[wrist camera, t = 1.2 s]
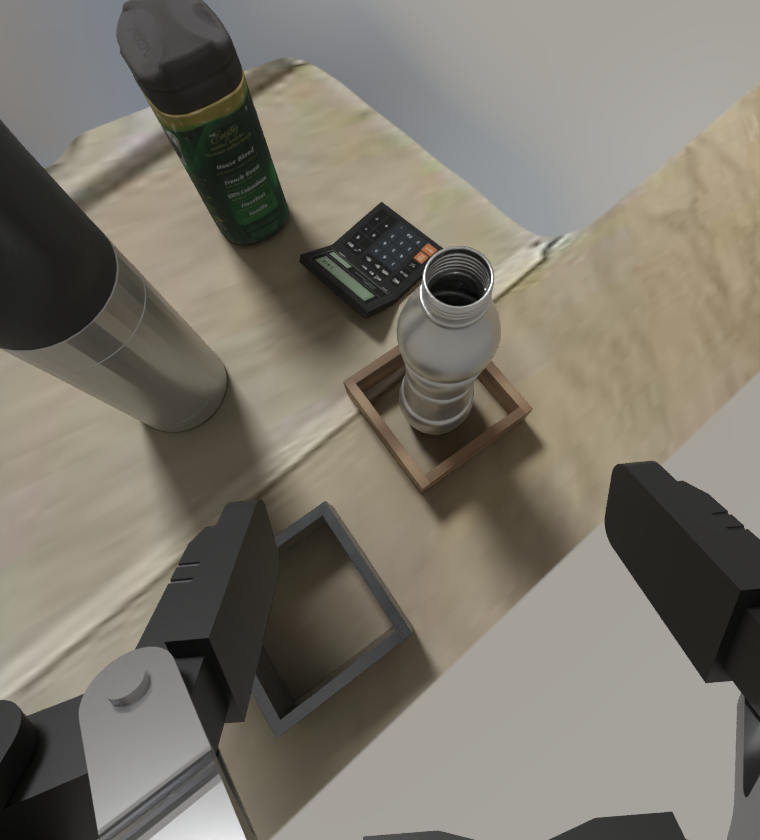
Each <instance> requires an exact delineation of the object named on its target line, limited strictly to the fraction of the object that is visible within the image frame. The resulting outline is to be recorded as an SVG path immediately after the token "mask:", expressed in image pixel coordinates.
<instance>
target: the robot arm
mask: <svg viewBox="0 0 760 840" xmlns="http://www.w3.org/2000/svg"><path fill="white" fill-rule="evenodd" d="M0 349H2V350H4V351H6V352H8V353H10V354H11V355H13V356H15V357H17V358H19V359H21V360H23V361H25V362H27V363H29V364H31V365H33V366H35V367H37V368H39V369H41V370H43V371H45V372H47V373H49V374H51V375H53V376H55V377H56V378H58V379H60V380H62V381H64V382H66V383H68V384H70V385H72V386H74V387H76V388H78V389H80V390H82V391H84V392H85V393H87V394H89V395H91V396H93V397H95V398H97V399H99V400H101V401H103V402H105V403H107V404H109V405H111V406H113V407H114V408H116V409H118V410H120V411H122V412H124V413H126V414H128V415H130V416H132V417H133V418H135V419H137V420H139V421H141V422H143V423H145V424H147V425H149V426H151V427H153V428H155V429H158V430H161V431H166V432H180V431H185V430H188V429H192V428H194V427H196V426H198V425H200V424H202V423H203V422H204V421H206V420H207V419H208V418H209V417H211V416H212V414H213V413H214V412H215V411H216V410H217V409H218V407H219V405H220V404H221V402H222V400H223V398H224V395H225V392H226V386H227V376H226V370H225V368H224V365H223V363H222V361H221V360H220V358H219V357H218V356H217V355H216V354H215V352H214V351H213V350H212V349H211V348H210V347H209V346H208V345H207V344H206V343H205V342H204V341H203V340H202V338H201V337H200V336H199V335H198V334H197V333H196V332H195V331H194V330H193V329H192V328H191V326H190V325H189V324H188V323H187V322H186V321H185V320H184V319H183V318H182V317H181V316H180V315H179V314H178V313H177V311H176V310H175V309H174V308H173V307H172V306H171V305H170V304H169V303H168V302H167V301H166V300H165V299H164V298H163V296H162V295H161V294H160V293H159V292H158V291H157V290H156V289H155V288H154V287H153V286H152V285H151V284H150V282H149V281H148V280H147V279H146V278H145V277H144V276H143V275H142V274H141V273H140V272H139V271H138V270H137V269H136V267H135V266H134V265H133V264H132V263H131V262H130V261H129V260H128V259H127V258H126V257H125V256H124V255H123V254H122V253H121V252H120V251H119V250H118V248H117V247H116V246H115V245H114V244H113V243H112V242H111V241H110V240H109V239H108V238H107V237H106V236H105V234H104V233H103V232H102V231H101V230H100V229H99V228H98V227H97V226H96V225H95V224H94V223H93V222H92V221H91V220H90V219H89V217H88V216H87V215H86V214H85V213H84V212H83V211H82V210H81V209H80V208H79V207H78V205H77V204H76V203H75V202H74V201H73V200H72V199H71V198H70V197H69V196H68V195H67V193H66V192H65V191H64V190H63V189H62V188H61V187H60V186H59V185H58V184H57V182H56V181H55V180H54V179H53V178H52V177H51V176H50V175H49V174H48V173H47V171H46V170H45V169H44V168H43V167H42V166H41V165H40V164H39V163H38V162H37V161H36V159H35V158H34V157H33V156H32V155H31V154H30V153H29V152H28V151H27V150H26V149H25V147H24V146H23V145H22V144H21V143H20V142H19V141H18V139H17V138H16V137H15V136H14V135H13V134H12V132H11V131H10V130H9V129H8V128H7V127H6V126H5V124H4V123H3V122H2V121H1V120H0ZM605 529H606V534H607V537H608V539H609V542H610V543H611V546H612V547H613V549H614V550H615V551H616V553H617V554H618V556H619V557H620V559H621V560H622V562H623V563H624V564H625V566H626V568H627V569H628V571H629V572H630V573H631V575H632V576H633V578H634V579H635V581H636V582H637V584H638V585H639V587H640V588H641V589H642V591H643V592H644V594H645V595H646V597H647V598H648V600H649V601H650V602H651V604H652V605H653V607H654V608H655V610H656V611H657V613H658V614H659V615H660V617H661V619H662V620H663V622H664V623H665V624H666V626H667V627H668V629H669V630H670V632H671V633H672V635H673V636H674V637H675V639H676V640H677V642H678V643H679V645H680V646H681V648H682V649H683V651H684V652H685V654H686V655H687V657H688V658H689V659H690V661H691V662H692V664H693V665H694V667H695V668H696V670H697V671H698V673H699V674H700V676H701V677H702V678H703V680H704V681H705V683H713V682H724V681H733V682H734V683H735V685H736V686H737V687H738V689H739V690H740V691H741V695H740V697H739V700H738V704H737V729H736V761H735V792H734V793H735V794H734V810H733V816H732V821H731V826H730V829H729V833H728V837H727V840H760V539H758V538H757V537H756V536H755V535H754V534H753V533H752V532H750V531H749V530H748V529H746V530H745V529H744V525H743V524H741V523H740V522H739V521H738V520H737V519H736V518H735V517H734V516H733V515H729V514H728V511H727V510H726V509H725V508H724V507H723V506H721V505H720V504H719V503H718V502H717V501H716V500H714V498H712V497H711V496H710V495H709V494H707V493H705V492H704V491H702V490H699V489H698V488H696V487H694V486H692V485H690V484H688V483H686V482H684V481H676V480H675V479H674V478H673V477H672V476H671V475H670V474H669V473H668V472H667V471H666V470H665V469H664V468H663V467H662V466H661V465H659V464H658V463H657V462H655V461H645V462H635V463H625V464H617V465H616V466H615V467H614V468H613V471H612V476H611V482H610V488H609V494H608V500H607V507H606V513H605ZM278 573H279V556H278V550H277V546H276V542H275V539H274V535H273V531H272V528H271V524H270V521H269V517H268V514H267V510H266V507H265V504H264V502H263V501H262V500H261V499H260V500H250V501H240V502H230V503H227V505H226V506H225V508H224V510H223V512H222V515H221V517H220V519H219V521H218V523H217V526H213V527H205V528H204V529H203V530H202V531H201V532H200V533H199V534H198V535H197V536H196V537H195V538H194V539H193V540H192V541H191V542H190V543H189V544H188V546H187V548H186V550H185V552H184V554H183V556H182V558H181V560H180V562H179V567H177V568H176V570H175V572H174V574H173V576H172V578H171V583H170V584H168V586H167V588H166V589H165V591H164V593H163V595H162V597H161V599H160V601H159V603H158V605H157V607H156V609H155V611H154V613H153V615H152V617H151V619H150V621H149V623H148V625H147V627H146V629H145V631H144V633H143V635H142V637H141V639H140V641H139V643H138V645H137V647H136V649H135V650H133V651H131V652H128V653H126V654H124V655H122V656H121V657H119V658H117V659H116V660H114V661H113V662H111V663H110V664H109V665H108V666H106V667H105V668H104V669H103V670H102V671H101V672H100V673H99V674H98V675H97V676H96V677H95V679H94V680H93V681H92V682H91V684H90V685H89V687H88V688H87V690H86V691H85V693H84V694H82V695H80V696H78V697H75V698H73V699H70V700H68V701H65V702H62V703H60V704H57V705H55V706H52V707H49V708H47V709H44V710H42V711H39V712H36V713H34V714H31V715H29V716H26V715H25V714H24V713H23V712H22V711H21V709H20V708H19V707H18V706H17V705H16V704H15V703H13V702H11V701H6V700H0V840H97V839H99V840H258V838H257V836H256V834H255V831H254V829H253V827H252V824H251V822H250V820H249V817H248V815H247V813H246V810H245V808H244V806H243V803H242V801H241V799H240V796H239V794H238V792H237V790H236V787H235V785H234V783H233V780H232V778H231V776H230V773H229V771H228V769H227V766H226V764H225V762H224V759H223V757H222V755H221V752H220V750H219V748H218V745H219V741H220V737H221V733H222V730H223V726H224V723H233V722H244V721H245V717H246V712H247V708H248V704H249V700H250V695H251V691H252V687H253V682H254V678H255V674H256V669H257V665H258V661H259V656H260V652H261V648H262V643H263V639H264V635H265V630H266V626H267V622H268V618H269V613H270V609H271V605H272V600H273V596H274V592H275V587H276V583H277V579H278ZM363 840H473V839H469V838H465V837H461V836H457V835H454V834H449V833H446V832H441V831H427V832H415V833H402V834H390V835H377V836H366V837H363ZM549 840H686V839H685V837H684V835H683V833H682V831H681V829H680V827H679V825H678V823H677V821H676V819H675V817H674V815H673V813H672V812H664V813H652V814H638V815H626V816H614V817H601V818H594V819H592V820H590V821H588V822H586V823H583V824H582V825H579V826H577V827H575V828H573V829H571V830H569V831H566V832H564V833H562V834H560V835H558V836H556V837H554V838H552V839H549Z"/></svg>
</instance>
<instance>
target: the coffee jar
mask: <svg viewBox="0 0 760 840" xmlns="http://www.w3.org/2000/svg"><path fill="white" fill-rule="evenodd" d="M117 41H118V44H119V46H120V53H121V55H122V57H123V58H124V60H125V62H126V63H127V65H128V66H129V68H130V70H131V71H132V73H133V76H134V78H135V80H136V81H137V83H138V85H139V87H140V88H141V90H142V92H143V94H144V96H145V97H146V99H147V101H148V103H149V105H150V106H151V108H152V110H153V112H154V113H155V115H156V117H157V119H158V121H159V122H160V124H161V126H162V128H163V130H164V131H165V133H166V135H167V137H168V139H169V140H170V142H171V144H172V146H173V148H174V150H175V151H176V153H177V155H178V157H179V158H180V160H181V162H182V164H183V166H184V167H185V169H186V171H187V173H188V174H189V176H190V178H191V180H192V182H193V183H194V185H195V187H196V189H197V191H198V193H199V194H200V196H201V198H202V200H203V202H204V204H205V205H206V207H207V209H208V211H209V213H210V214H211V216H212V218H213V219H214V221H215V223H216V224H217V226H218V227H219V229H220V230H221V232H222V233H223V234H224V235H225V236H226V237H227V238H228V239H229V240H230V241H232V242H233V243H236V244H241V245H247V244H252V243H256V242H259V241H261V240H264V239H266V238H268V237H270V236H271V235H273V234H275V233H276V232H277V231H278V230H279V229H281V228H282V227H283V226H284V224H285V223H286V221H287V219H288V214H289V211H288V206H287V203H286V200H285V197H284V194H283V191H282V188H281V185H280V182H279V179H278V176H277V173H276V170H275V167H274V164H273V161H272V158H271V155H270V152H269V149H268V146H267V143H266V140H265V137H264V134H263V131H262V128H261V125H260V122H259V119H258V116H257V112H256V110H255V107H254V104H253V101H252V98H251V95H250V91H249V88H248V85H247V82H246V78H245V75H244V71H243V69H242V66H241V64H240V61H239V58H238V56H237V53H236V50H235V48H234V46H233V43H232V40H231V38H230V35H229V33H228V32H227V30H226V29H225V27H224V26H223V24H222V22H221V21H220V19H219V18H218V17H217V15H216V14H215V13H214V12H213V11H212V10H211V9H210V8H209V6H208V5H207V4H206V3H205V2H204V1H203V0H129V1H127V2H126V3H124V5H123V10H122V13H121V15H120V18H119V21H118V25H117Z"/></svg>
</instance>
